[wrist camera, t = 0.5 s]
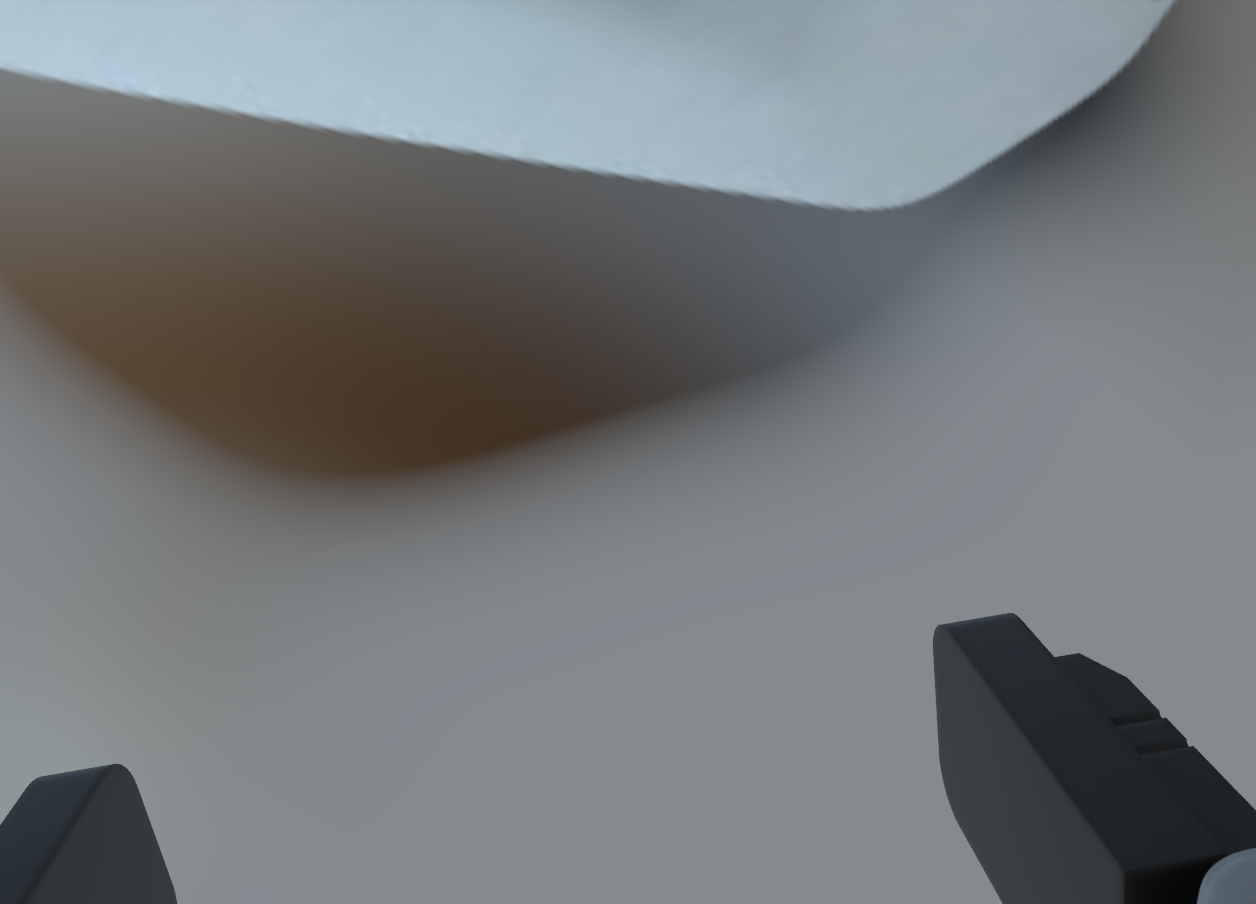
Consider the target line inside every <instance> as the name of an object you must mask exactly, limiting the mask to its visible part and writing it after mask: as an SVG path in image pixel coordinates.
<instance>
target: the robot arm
mask: <svg viewBox="0 0 1256 904" xmlns="http://www.w3.org/2000/svg"><path fill="white" fill-rule="evenodd" d="M933 655H934V673H935V689H936V707H937V722H938V723H937V724H938V742H939V757H940V766H941V772H942V776H943V781H944V786H945V790H946V793H947V797H948V800H949V803H950V806H951V808H952V811H953V813H954V816H955V818H956V820H957V822H958V824H959V826H960V828H961V830H962V831H963V833H964V835H965V837H966V838H967V840H968V842H969V844H970V846H971V848H972V849H973V851H974V853H975V855H976V856H977V858H978V860H979V862H980V863H981V865H982V867H983V869H984V871H985V873H986V874H987V876H988V878H989V880H990V882H991V883H992V885H993V887H994V889H995V891H996V892H997V894H998V896H999V898H1000V899H1001V901H1002V903H1003V904H1256V810H1255V809H1254V808H1253V807H1252V806H1251V805H1250V804H1249V803H1248V802H1247V801H1246V800H1245V799H1244V798H1243V797H1242V796H1241V795H1240V794H1239V793H1238V792H1237V791H1236V790H1235V789H1234V788H1233V787H1232V785H1230V784H1229V782H1228V781H1227V780H1226V779H1225V778H1224V777H1223V776H1222V775H1221V774H1220V773H1219V772H1218V771H1217V770H1216V769H1215V768H1214V767H1213V766H1212V765H1211V764H1210V763H1209V762H1208V761H1207V760H1206V759H1205V758H1204V757H1203V756H1202V754H1201V753H1200V752H1199V751H1198V750H1197V749H1195V747H1193V746H1191V747H1189V746H1188V744H1187V740H1186V738H1185V737H1184V736H1183V735H1182V734H1181V733H1180V732H1179V731H1178V730H1177V729H1176V728H1175V727H1174V726H1173V725H1172V723H1171V722H1170V721H1168V719H1167V718H1161V716H1160V713H1159V710H1158V709H1157V708H1156V707H1155V706H1154V705H1153V704H1152V703H1151V702H1150V701H1149V700H1148V699H1147V698H1146V697H1145V696H1144V695H1143V694H1142V692H1140V690H1139V689H1138V688H1137V687H1135V685H1134V684H1133V683H1132V682H1131V681H1130V680H1129V679H1128V678H1127V677H1125V676H1123V675H1121V674H1119V673H1117V672H1115V671H1113V670H1111V669H1109V668H1107V667H1105V666H1103V665H1101V664H1099V663H1097V662H1095V661H1093V660H1091V659H1089V658H1087V657H1085V656H1084V655H1081V654H1080V653H1077V654H1072V655H1065V656H1059V657H1054V656H1053V655H1052V654H1051V653H1050V652H1049V651H1048V649H1046V647H1045V646H1044V645H1043V644H1042V643H1041V642H1040V640H1039V639H1038V638H1037V637H1036V636H1035V635H1034V634H1033V632H1032V631H1031V630H1030V629H1029V628H1028V627H1027V626H1026V625H1025V623H1024V622H1023V621H1022V620H1021V619H1020V618H1019V617H1018V616H1017V615H1015V614H1013V613H1007V614H1002V615H995V616H989V617H984V618H978V619H972V620H966V621H961V622H954V623H949V624H943V625H939V626H937V627H936V629H935V632H934V638H933ZM0 904H177V900H176V895H175V891H174V887H173V884H172V881H171V879H170V876H169V873H168V870H167V868H166V865H165V862H164V859H163V856H162V854H161V851H160V848H159V845H158V843H157V840H156V837H155V834H154V831H153V829H152V826H151V823H150V820H149V818H148V815H147V813H146V810H145V807H144V804H143V801H142V798H141V795H140V793H139V790H138V787H137V785H136V782H135V780H134V778H133V776H132V775H131V773H130V772H129V771H128V769H127V768H125V767H124V766H122V765H120V764H112V765H106V766H101V767H95V768H89V769H84V770H77V771H71V772H65V773H60V774H54V775H48V776H42V777H39V778H36V779H35V780H34V781H32V782H31V783H30V784H29V786H28V787H27V788H26V789H25V791H24V792H23V794H22V795H21V797H20V798H19V799H18V801H17V802H16V804H15V805H14V807H13V808H12V809H11V811H10V812H9V814H8V815H7V817H6V818H5V819H4V821H3V822H2V824H1V825H0Z"/></svg>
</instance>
